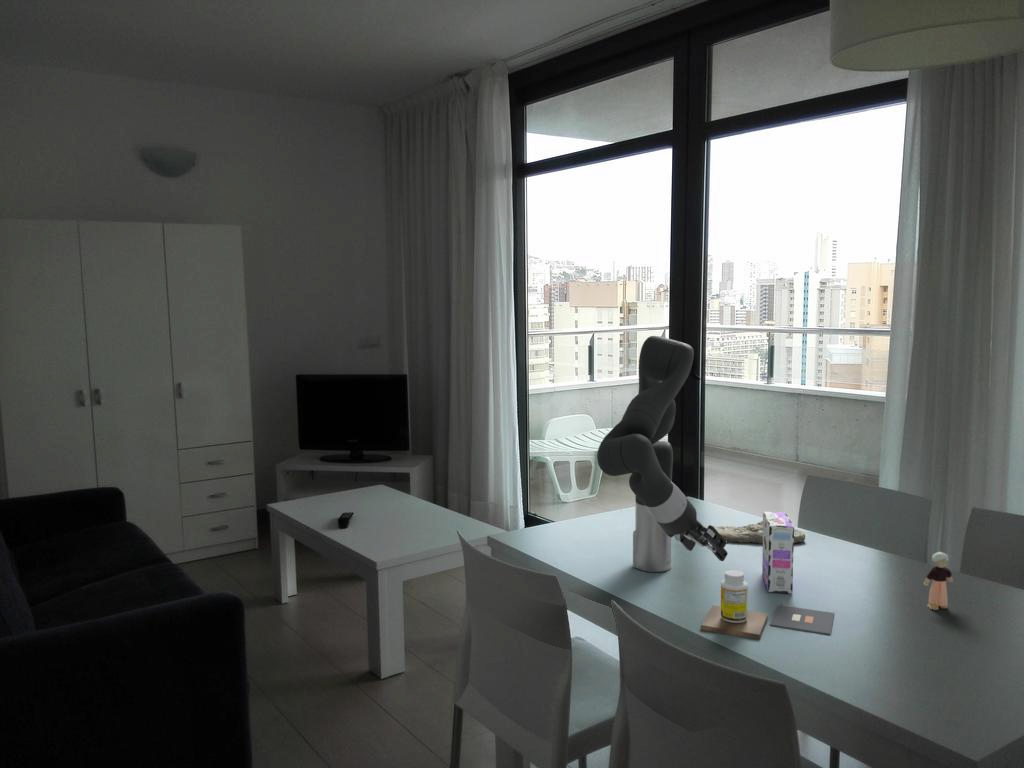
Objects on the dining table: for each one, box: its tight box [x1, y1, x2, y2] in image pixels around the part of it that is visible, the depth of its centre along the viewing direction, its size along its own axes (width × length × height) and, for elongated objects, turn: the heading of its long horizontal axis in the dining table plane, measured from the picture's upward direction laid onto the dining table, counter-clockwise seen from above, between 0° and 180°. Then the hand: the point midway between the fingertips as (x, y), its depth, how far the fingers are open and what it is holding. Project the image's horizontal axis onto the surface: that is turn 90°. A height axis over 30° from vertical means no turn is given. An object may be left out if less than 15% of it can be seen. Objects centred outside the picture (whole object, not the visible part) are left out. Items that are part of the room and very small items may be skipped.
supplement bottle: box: [720, 570, 749, 623], centre depth 170 cm, size 6×6×10 cm
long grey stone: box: [699, 520, 806, 544], centre depth 231 cm, size 35×5×10 cm
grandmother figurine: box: [922, 551, 954, 611], centre depth 178 cm, size 8×4×13 cm, turn 117°
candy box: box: [761, 511, 795, 594], centre depth 193 cm, size 14×6×16 cm, turn 168°
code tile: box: [769, 604, 835, 636], centre depth 172 cm, size 12×12×1 cm
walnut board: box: [700, 605, 769, 640], centre depth 170 cm, size 12×12×1 cm
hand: (707, 552), depth 164 cm, fingers open, 8 cm apart
